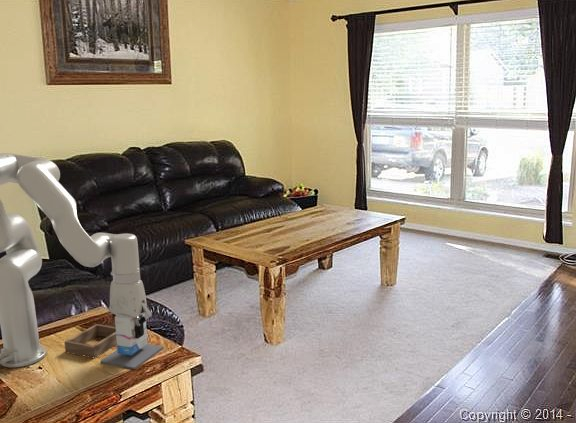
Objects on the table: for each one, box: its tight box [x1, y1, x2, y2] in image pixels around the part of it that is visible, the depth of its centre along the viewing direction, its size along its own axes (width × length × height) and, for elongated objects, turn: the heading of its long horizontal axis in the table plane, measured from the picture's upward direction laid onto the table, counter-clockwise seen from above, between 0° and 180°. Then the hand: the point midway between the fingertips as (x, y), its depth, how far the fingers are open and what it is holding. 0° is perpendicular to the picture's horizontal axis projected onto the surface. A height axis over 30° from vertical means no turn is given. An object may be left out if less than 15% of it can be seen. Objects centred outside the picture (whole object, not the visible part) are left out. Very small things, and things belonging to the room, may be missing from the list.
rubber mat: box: [100, 343, 164, 370], centre depth 165 cm, size 14×12×1 cm
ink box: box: [114, 313, 148, 355], centre depth 164 cm, size 9×5×12 cm, turn 160°
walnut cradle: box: [64, 323, 117, 359], centre depth 172 cm, size 14×11×4 cm
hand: (131, 334), depth 164 cm, fingers open, 5 cm apart
